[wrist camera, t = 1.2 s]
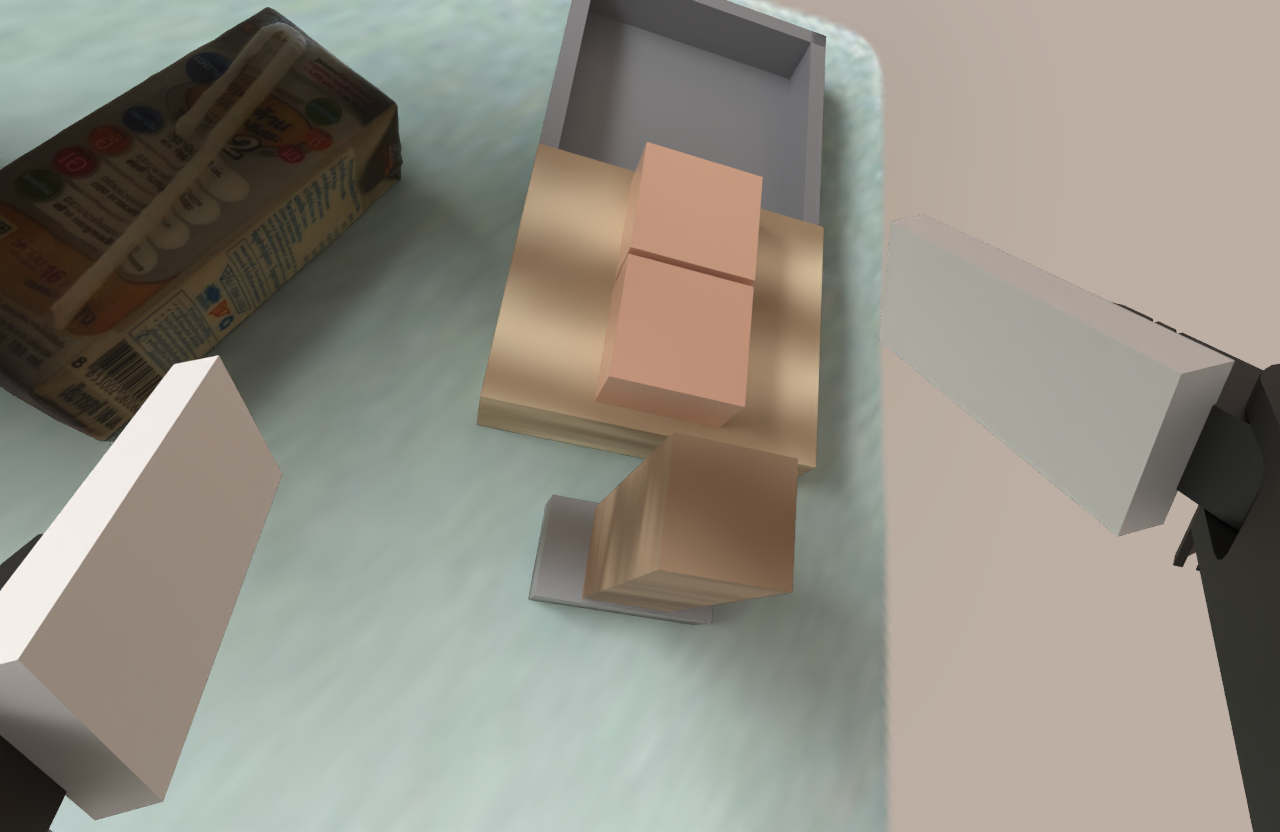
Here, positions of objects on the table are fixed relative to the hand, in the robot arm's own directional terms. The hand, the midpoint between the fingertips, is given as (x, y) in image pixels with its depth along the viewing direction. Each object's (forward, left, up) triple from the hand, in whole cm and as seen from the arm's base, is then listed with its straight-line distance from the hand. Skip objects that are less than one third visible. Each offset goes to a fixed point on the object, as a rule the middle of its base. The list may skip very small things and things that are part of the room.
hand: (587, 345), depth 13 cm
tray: (-11, +24, -20) cm, 33 cm away
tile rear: (-4, +15, -16) cm, 22 cm away
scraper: (+5, +2, -20) cm, 20 cm away
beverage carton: (-19, -2, -20) cm, 28 cm away
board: (-2, +12, -20) cm, 23 cm away
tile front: (0, +10, -16) cm, 19 cm away
